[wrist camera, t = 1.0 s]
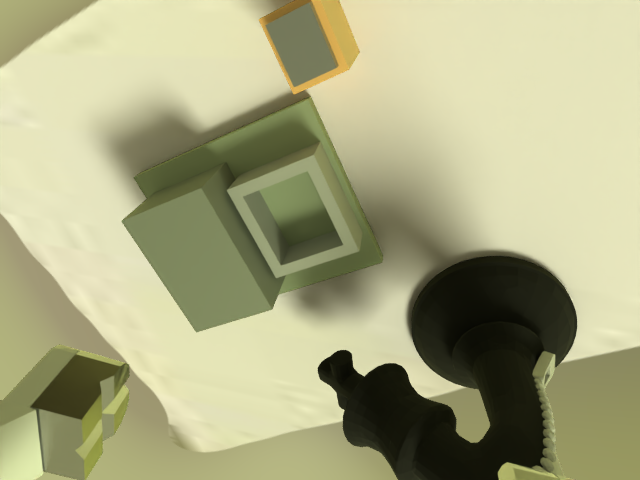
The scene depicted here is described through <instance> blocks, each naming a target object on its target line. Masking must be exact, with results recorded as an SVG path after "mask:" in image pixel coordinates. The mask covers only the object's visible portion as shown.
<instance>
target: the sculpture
mask: <svg viewBox="0 0 640 480" xmlns="http://www.w3.org/2000/svg"><path fill="white" fill-rule="evenodd" d="M576 331H577V316H576V311H575V308H574V305H573V303H572V301H571V299H570V297H569V295H568V293H567V291H566V290H565V288H564V286H563V285H562V284H561V283H560V282H559V281H558V279H556V278H555V277H554V276H553V275H552V274H551V273H549V272H548V271H546V270H545V269H543V268H542V267H540V266H537V265H535V264H533V263H530V262H528V261H525V260H522V259H517V258H513V257H503V256H487V257H480V258H474V259H470V260H466V261H463V262H461V263H458V264H455V265H453V266H451V267H449V268H447V269H446V270H444V271H442V272H441V273H439V274H438V275H437V276H435V277H434V278H433V279H432V280H431V281H430V282H429V283H428V284H427V285H426V286H425V287H424V288H423V290H422V291H421V293H420V294H419V296H418V298H417V300H416V302H415V305H414V308H413V312H412V337H413V342H414V345H415V347H416V350H417V352H418V353H419V355H420V357H421V358H422V360H423V361H424V362H425V363H426V364H427V365H428V366H429V367H430V368H431V369H432V370H433V371H434V372H435V373H437V374H438V375H440V376H441V377H443V378H445V379H446V380H449V381H451V382H453V383H455V384H458V385H461V386H464V387H469V388H474V389H479V391H480V393H481V396H482V400H483V403H484V406H485V409H486V412H487V415H488V418H489V421H490V428H489V430H488V431H487V433H486V434H485V436H484V437H483V439H482V440H480V441H479V442H478V443H470V442H469V441H467V440H465V439H464V438H462V437H460V436H459V435H458V434H457V432H456V417H455V415H454V413H453V410H452V409H451V408H450V407H449V406H448V405H445V404H442V403H438V402H434V401H431V400H429V399H426V398H424V397H422V396H421V395H419V394H418V393H417V392H416V391H415V389H414V388H413V387H412V386H411V384H410V382H409V378H408V374H407V372H406V370H405V369H404V368H403V367H402V366H400V365H398V364H395V363H388V364H383V365H381V366H378V367H376V368H375V369H373V370H372V371H370V372H369V373H368V374H367V375H366V376H365V377H364V376H362V375H361V374H359V373H358V372H357V371H356V370H355V369H354V368H353V361H352V354H351V353H350V352H349V351H347V350H340V351H337V352H335V353H334V354H333V355H331V356H330V357H328V358H326V359H325V360H324V361H322V362H321V364H320V365H319V367H318V374H319V377H320V380H322V381H324V382H325V383H327V384H328V385H330V386H331V387H332V388H333V389H334V390H335V391H336V392H337V398H338V403H339V406H340V407H341V408H342V409H344V410H345V411H344V415H343V431H344V434H345V437H346V438H347V440H348V442H350V443H351V444H352V445H354V446H359V447H366V446H368V447H370V448H373V449H375V450H377V451H379V452H380V453H382V454H383V456H384V457H385V458H386V460H387V461H388V463H389V464H390V466H391V468H392V469H393V471H394V473H395V475H396V477H397V479H398V480H499V478H498V471H499V470H500V468H501V467H502V465H504V464H505V463H507V462H509V463H513V464H517V465H521V466H525V467H529V468H533V469H537V470H541V471H545V472H549V473H552V474H554V475H559V476H563V477H565V476H564V473H563V470H562V468H561V465H560V463H559V460H558V457H557V454H556V445H555V443H554V442H555V441H556V437H555V434H554V433H555V427H554V418H553V412H552V410H551V406H550V402H549V401H548V396H547V395H546V392H545V388H546V385H547V383H548V382H549V380H550V379H551V377H552V376H553V373H554V369H555V367H557V366H558V364H560V363H561V361H562V360H563V359H564V358H565V357H566V355H567V354H568V352H569V351H570V349H571V347H572V345H573V342H574V339H575V336H576Z"/></svg>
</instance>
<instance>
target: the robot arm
mask: <svg viewBox="0 0 640 480" xmlns="http://www.w3.org/2000/svg"><path fill="white" fill-rule="evenodd" d="M128 378H129V364H127V363H124V362H121V361H117V360H114V359H110V358H107V357H103V356H100V355H97V354H93V353H90V352H86V351H83V350H78V349H75V348H71V347H67V346H64V345H60V344H59V345H57V346H55V347H53V348H52V349H51V350H50V351H49V352H48V353H47V354H46V355H45V356H44V357H43V358H42V359H41V360H40V361H39V362H38V363H37V364H36V366H35V367H34V368H33V369H32V370H31V371H30V372H29V373H28V374H27V375H26V376H25V377H24V378H23V379H22V380H21V381H20V382H19V383H18V384H17V386H16V387H15V388H14V389H13V390H12V391H11V392H10V393H9V394H8V395H7V396H6V397H5V398H4V399H3V400H0V480H35V479H37V478H38V477H40V476H41V475H43V471H44V472H48V473H52V474H56V475H60V476H64V477H69V478H73V479H77V480H86V479H87V477H88V476H89V474H90V472H91V471H92V469H93V468H94V466H95V464H96V463H97V461H98V459H99V458H100V457H101V455H102V453H103V441H104V440H106V439H107V438H109V437H111V436H113V435H114V434H115V433H116V431H117V429H118V428H119V425H120V424H121V422H122V420H123V417H124V415H125V412H126V410H127V406H128V401H129V390H128V389H127V387H126V386H125V385H124V383H125V382H126V380H127V379H128ZM498 478H499V480H575V479H571V478H567V477H563V476H559V475H554V474H552V473H549V472H545V471H541V470H537V469H533V468H529V467H525V466H521V465H517V464H513V463H509V462H507V463H505V464H504V465H502V467H501V468H500V470H499V471H498Z"/></svg>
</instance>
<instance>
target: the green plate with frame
mask: <svg viewBox="0 0 640 480" xmlns="http://www.w3.org/2000/svg"><path fill="white" fill-rule="evenodd" d="M134 179H135V181H136V182H137V184H138V185H139V187H140V188H141V190H142V192H143V193H144V195H145V196H146V198H147V199H146V200H145V201H144V202H143V203H142V204H141V205H139V206H138V207H137V208H136V209H135V210H134V211H133V212H131V213H130V214H129V215H128V216H127V217H126V218H124V219H123V220H122V223H123V224H124V226H125V227H126V229H127V230H128V232H129V233H130V235H131V236H132V238H133V239H134V241H135V242H136V244H137V245H138V247H139V248H140V250H141V251H142V253H143V254H144V256H145V257H146V259H147V260H148V261H149V263H150V264H151V266H152V267H153V269H154V270H155V272H156V273H157V275H158V276H159V278H160V279H161V281H162V282H163V284H164V285H165V287H166V288H167V290H168V291H169V293H170V294H171V296H172V297H173V299H174V300H175V302H176V303H177V305H178V306H179V307H180V309H181V310H182V312H183V313H184V315H185V316H186V318H187V319H188V321H189V322H190V324H191V325H192V327H193V328H194V330H195V331H196V332H199V331H202V330H206V329H209V328H212V327H216V326H219V325H222V324H226V323H229V322H232V321H236V320H239V319H242V318H246V317H249V316H252V315H256V314H259V313H262V312H266V311H269V310H272V309H273V306H274V304H275V301H276V299H277V296H278V295H279V294H282V293H285V292H288V291H292V290H295V289H298V288H301V287H304V286H308V285H311V284H314V283H317V282H321V281H324V280H327V279H330V278H333V277H337V276H340V275H343V274H346V273H349V272H353V271H356V270H359V269H362V268H366V267H369V266H372V265H375V264H378V263H382V260H383V255H382V253H381V250H380V248H379V246H378V244H377V242H376V239H375V237H374V235H373V233H372V231H371V228H370V226H369V224H368V222H367V220H366V217H365V215H364V213H363V211H362V209H361V206H360V204H359V202H358V200H357V198H356V195H355V193H354V191H353V189H352V187H351V184H350V182H349V180H348V178H347V175H346V173H345V171H344V169H343V167H342V164H341V162H340V160H339V158H338V156H337V153H336V151H335V149H334V147H333V145H332V142H331V140H330V138H329V136H328V134H327V131H326V129H325V127H324V125H323V123H322V120H321V118H320V116H319V114H318V112H317V109H316V107H315V105H314V103H313V100H312V98H311V96H310V97H308V98H306V99H303V100H301V101H299V102H297V103H294V104H292V105H290V106H288V107H286V108H283V109H281V110H279V111H277V112H274V113H272V114H270V115H268V116H266V117H263V118H261V119H259V120H257V121H254V122H252V123H250V124H248V125H246V126H243V127H241V128H239V129H237V130H234V131H232V132H230V133H228V134H226V135H223V136H221V137H219V138H217V139H215V140H212V141H210V142H208V143H206V144H203V145H201V146H199V147H197V148H195V149H192V150H190V151H188V152H186V153H183V154H181V155H179V156H177V157H175V158H172V159H170V160H168V161H166V162H163V163H161V164H159V165H157V166H155V167H152V168H150V169H148V170H146V171H143V172H141V173H139V174H138V175H137V176H135V177H134Z"/></svg>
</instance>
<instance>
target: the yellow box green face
mask: <svg viewBox="0 0 640 480" xmlns="http://www.w3.org/2000/svg"><path fill="white" fill-rule="evenodd" d="M259 21H260V23H261V26H262V28H263V30H264V32H265V34H266V36H267V39H268V41H269V43H270V45H271V47H272V49H273V51H274V54H275V56H276V58H277V60H278V62H279V64H280V66H281V69H282V71H283V73H284V75H285V77H286V79H287V81H288V84H289V86H290V88H291V90H292V92H293V94H297V93H299V92H301V91H303V90H305V89H308V88H310V87H312V86H314V85H316V84H319V83H321V82H323V81H325V80H327V79H329V78H332V77H334V76H336V75H338V74H340V73H343V72H345V71H347V70H349V69H350V67H351V66H352V64H353V62H354V61H355V59H356V58H357V56H358V54H359V53H360V51H359V49H358V46H357V44H356V41H355V39H354V36H353V34H352V31H351V29H350V26H349V24H348V21H347V19H346V16H345V14H344V11H343V9H342V6H341V4H340V1H339V0H295V1H293V2H291V3H289V4H287V5H285V6H283V7H281V8H279V9H277V10H276V11H274V12H272V13H270V14H268V15H266V16H264V17H262V18H260V19H259Z"/></svg>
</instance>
